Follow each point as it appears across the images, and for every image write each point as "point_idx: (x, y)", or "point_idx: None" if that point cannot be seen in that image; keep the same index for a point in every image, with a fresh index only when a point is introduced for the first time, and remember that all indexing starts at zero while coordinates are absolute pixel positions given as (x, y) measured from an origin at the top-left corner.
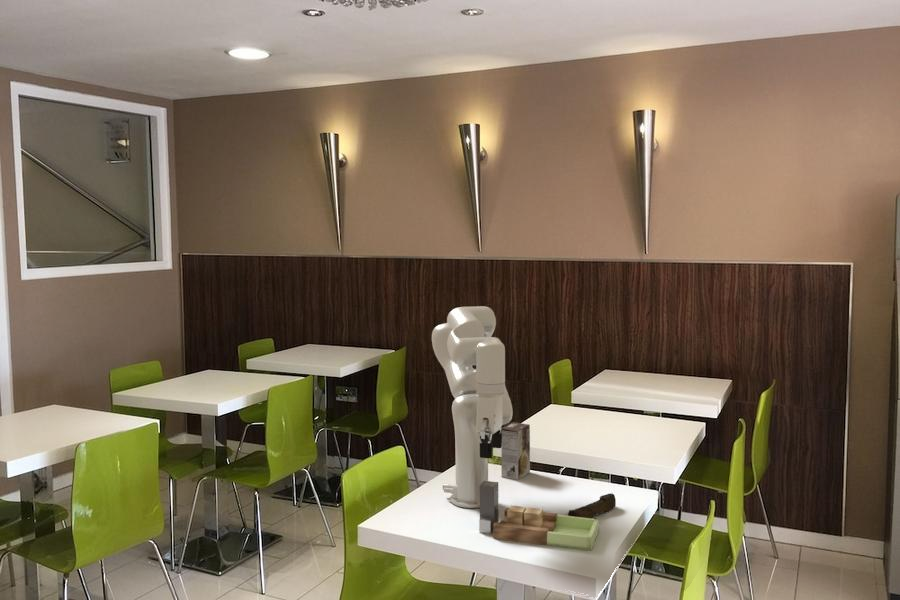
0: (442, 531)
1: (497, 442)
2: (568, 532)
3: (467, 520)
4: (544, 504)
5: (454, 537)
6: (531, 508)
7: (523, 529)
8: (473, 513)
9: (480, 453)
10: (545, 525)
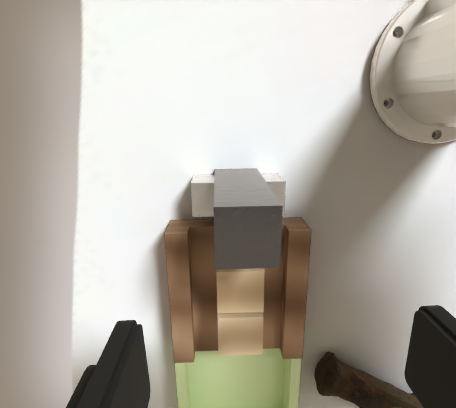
0: (162, 66)
1: (436, 397)
2: (252, 368)
3: (270, 112)
4: (438, 277)
5: (134, 118)
6: (256, 328)
7: (170, 310)
8: (331, 111)
9: (107, 347)
10: None
